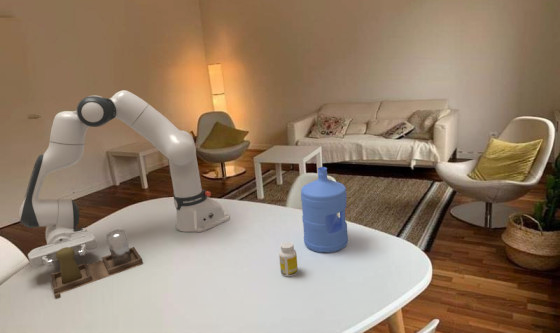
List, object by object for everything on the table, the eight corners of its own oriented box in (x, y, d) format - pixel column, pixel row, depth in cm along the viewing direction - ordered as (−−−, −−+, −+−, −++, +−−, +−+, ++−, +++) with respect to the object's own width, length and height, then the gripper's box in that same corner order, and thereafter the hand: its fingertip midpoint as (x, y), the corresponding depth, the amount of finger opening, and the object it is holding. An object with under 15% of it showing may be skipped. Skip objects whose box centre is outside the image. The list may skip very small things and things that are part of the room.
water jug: (298, 250, 135) (292, 174, 127) (311, 230, 149) (307, 160, 141) (342, 256, 129) (339, 177, 121) (352, 234, 143) (350, 162, 135)
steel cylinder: (129, 255, 139) (123, 227, 136) (133, 262, 134) (127, 233, 131) (111, 261, 136) (105, 233, 133) (115, 268, 131) (108, 239, 128)
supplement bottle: (299, 268, 124) (297, 241, 122) (295, 278, 120) (292, 250, 117) (283, 266, 126) (281, 239, 123) (278, 276, 121) (275, 248, 118)
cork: (73, 285, 124) (65, 254, 120) (57, 284, 125) (48, 254, 122) (86, 274, 129) (78, 244, 126) (70, 273, 130) (62, 244, 127)
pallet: (134, 252, 144) (133, 245, 143) (144, 266, 133) (142, 260, 132) (52, 280, 130) (50, 273, 129) (55, 298, 119) (53, 291, 119)
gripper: (25, 244, 131) (26, 261, 120) (90, 226, 141) (97, 239, 130) (30, 261, 133) (31, 279, 122) (94, 241, 143) (101, 256, 132)
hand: (66, 258), depth 126 cm, fingers open, 8 cm apart
